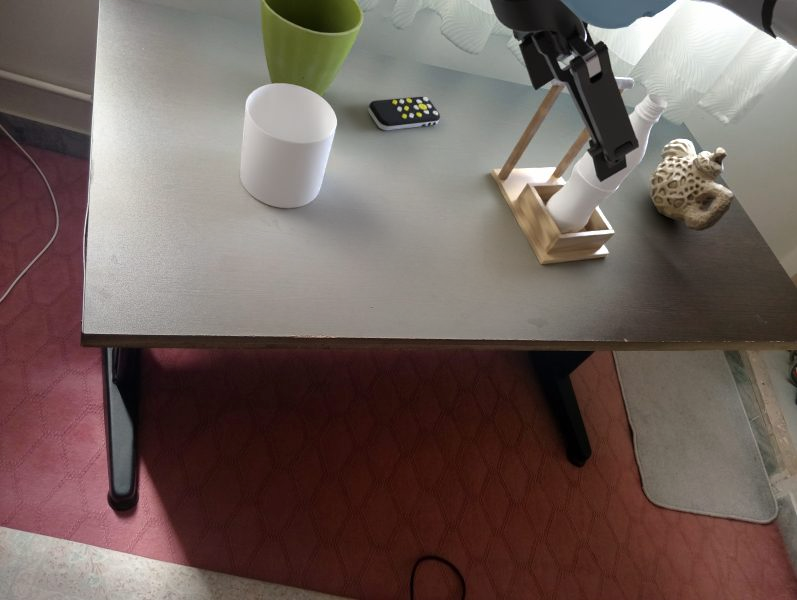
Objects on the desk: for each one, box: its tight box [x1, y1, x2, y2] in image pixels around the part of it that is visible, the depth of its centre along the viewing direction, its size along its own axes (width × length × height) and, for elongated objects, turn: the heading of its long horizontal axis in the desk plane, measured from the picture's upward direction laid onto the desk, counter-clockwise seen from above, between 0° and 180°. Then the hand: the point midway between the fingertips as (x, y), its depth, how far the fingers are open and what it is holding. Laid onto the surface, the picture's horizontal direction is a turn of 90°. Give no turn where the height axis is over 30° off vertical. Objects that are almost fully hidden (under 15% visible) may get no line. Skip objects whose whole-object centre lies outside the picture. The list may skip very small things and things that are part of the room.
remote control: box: [367, 96, 441, 131], centre depth 95 cm, size 6×13×2 cm, turn 118°
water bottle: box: [546, 92, 668, 234], centre depth 81 cm, size 7×7×25 cm
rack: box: [490, 76, 635, 265], centre depth 84 cm, size 20×15×21 cm
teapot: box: [648, 138, 735, 232], centre depth 98 cm, size 21×12×15 cm, turn 1°
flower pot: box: [259, 0, 364, 98], centre depth 84 cm, size 15×15×16 cm
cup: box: [239, 83, 338, 209], centre depth 74 cm, size 12×12×12 cm
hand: (576, 124), depth 55 cm, fingers open, 13 cm apart
